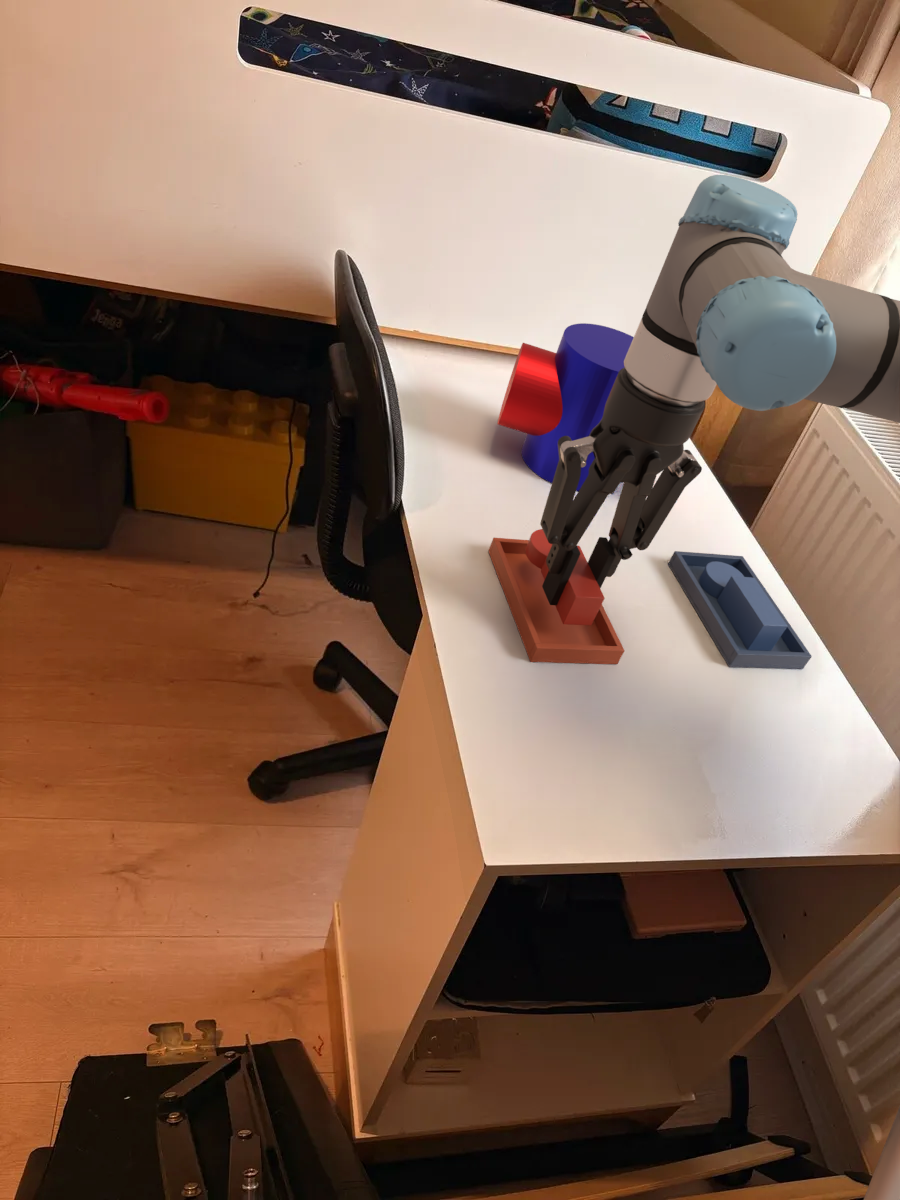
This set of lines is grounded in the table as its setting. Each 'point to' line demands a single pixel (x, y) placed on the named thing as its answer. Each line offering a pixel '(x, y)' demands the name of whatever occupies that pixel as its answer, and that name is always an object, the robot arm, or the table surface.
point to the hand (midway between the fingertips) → (566, 596)
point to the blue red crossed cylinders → (562, 392)
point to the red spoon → (569, 584)
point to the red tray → (548, 614)
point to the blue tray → (735, 653)
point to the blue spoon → (744, 605)
